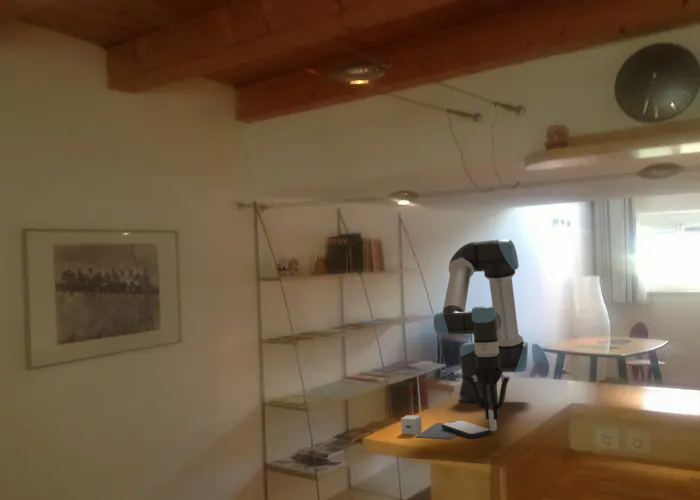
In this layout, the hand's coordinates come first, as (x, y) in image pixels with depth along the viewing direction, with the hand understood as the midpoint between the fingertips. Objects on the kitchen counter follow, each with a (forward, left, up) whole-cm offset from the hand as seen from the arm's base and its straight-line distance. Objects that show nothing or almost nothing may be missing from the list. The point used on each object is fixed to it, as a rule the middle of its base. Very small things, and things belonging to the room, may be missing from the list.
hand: (493, 429), depth 201 cm
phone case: (0, -9, -1) cm, 9 cm away
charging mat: (0, -17, -1) cm, 17 cm away
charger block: (+4, -26, -1) cm, 27 cm away
